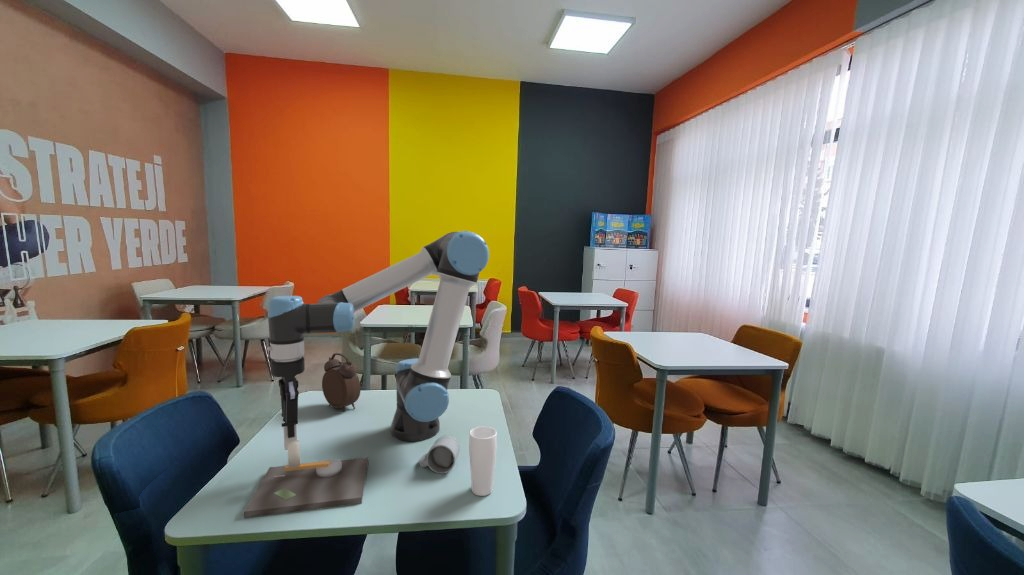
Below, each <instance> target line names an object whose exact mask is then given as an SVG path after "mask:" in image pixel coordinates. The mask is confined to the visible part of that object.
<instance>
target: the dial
mask: <svg viewBox="0 0 1024 575" xmlns="http://www.w3.org/2000/svg"><path fill="white" fill-rule="evenodd" d="M300 446H301V444H300V440H298V439H297V440H294V441H290V442H289V443H288V450H287V459H288V460H287V462H288V464H286V465H285V466H286V467H285V471H292V470H301V469H311V468H316V474H317V476H319V477H331V476H334V475H337V474H338V473H340V472H341V470H342V462H341V461H340V460H341V459H337V458H331V459H330V458H329V459H325V460H322V461H315V462H314V461H313V462H304V463H301V452H300V451H301V450H300V448H301V447H300Z"/></svg>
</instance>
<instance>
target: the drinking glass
mask: <svg viewBox="0 0 1024 575" xmlns="http://www.w3.org/2000/svg"><path fill="white" fill-rule="evenodd" d="M497 450H498V431H497V430H496V429H495V428H494V427H491V426H483V425H482V426H476V427H473V428H471V429H470V431H469V436H468V453H469V454H468V455H469V465H470V480H471V481H470V482H471V486H470V487H471V492H472V493H473V494H474V495H476V496H479V497H486V496H488V495H490V494H492V492H493V490H494V478H495V471H496V470H495V469H496V468H495V467H496V460H497V452H498V451H497Z"/></svg>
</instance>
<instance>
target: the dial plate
mask: <svg viewBox="0 0 1024 575" xmlns="http://www.w3.org/2000/svg"><path fill="white" fill-rule="evenodd" d="M339 460H340V461H341V462H342V470H341V472H340V473H338V474H337V475H334V476H331V477H319V476H317V474H316V468H311V469H301V470H292V471H285V467H286V465H280V466H279V465H278V466H270V467H269V468H268V469H267V471H266V473H265V475H264V476H263V478H262V480H261V481H260V483H259V485H258V487H257V488H256V490H255V492H254V494H253V495H252V497H251V499H250V500H249V502H248V504H247V505H246V507H245V509H244V511H243V519H248V518H257V517H265V516H272V515H280V514H282V515H283V514H289V513H290V514H291V513H297V512H304V511H313V510H320V508H321V509H328V508H335V507H344V506H350V505H351V506H352V505H359V504H362V503H363V497H364V491H365V485H366V481H367V480H366V479H367V471H368V466H369V457H368V456H367V457H359V458H348V459H339Z"/></svg>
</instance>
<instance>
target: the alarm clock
mask: <svg viewBox="0 0 1024 575" xmlns="http://www.w3.org/2000/svg"><path fill="white" fill-rule="evenodd" d="M336 356H340V357H343V358H344V359H345V362H342V361H340V360H339V359H336V358H335V357H336ZM323 368H324V374H323V376H322V378H321V379H322V380H321V387H322V392H323V397H324V399H325V400H326V402H327V404H328V407H332V408H334V409H342V412H346V410H345V408H346V407H348V406H349V407H350V406H352V407H353V410H355V409H356V407H355V403H356V402H357V401H358V400H359V398H360V395H361V388H362V387H361V381H360V378H359V376H358V374H357V372H358V369H357V368H358V367H357V365H356V363H354V362H353V361H350V358H349V356H347V355H346V354H344V353H340V352H335V353H333V354H332V356H330V357H328V360H327V361H326V362H325V363H324V366H323Z"/></svg>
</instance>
